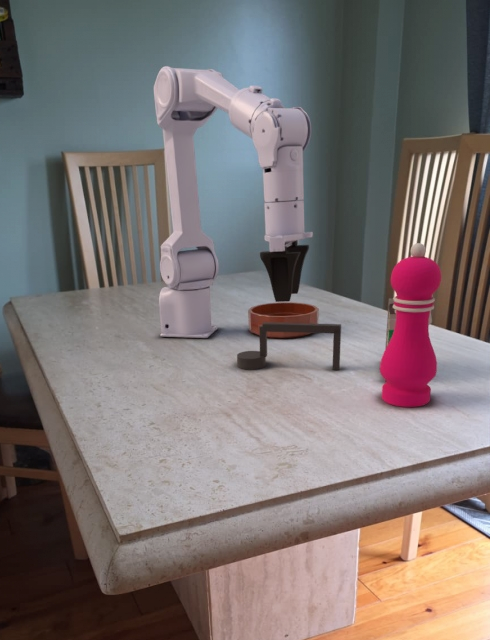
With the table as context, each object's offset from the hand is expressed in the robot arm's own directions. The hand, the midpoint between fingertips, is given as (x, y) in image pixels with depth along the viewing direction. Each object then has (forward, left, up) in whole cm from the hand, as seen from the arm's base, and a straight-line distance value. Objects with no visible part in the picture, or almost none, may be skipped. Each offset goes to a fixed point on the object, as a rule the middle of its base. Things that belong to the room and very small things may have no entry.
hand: (287, 297), depth 95 cm
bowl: (-5, +23, -11) cm, 26 cm away
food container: (+18, -1, -11) cm, 21 cm away
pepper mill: (+18, -13, -11) cm, 25 cm away
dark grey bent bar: (0, -1, -11) cm, 11 cm away
